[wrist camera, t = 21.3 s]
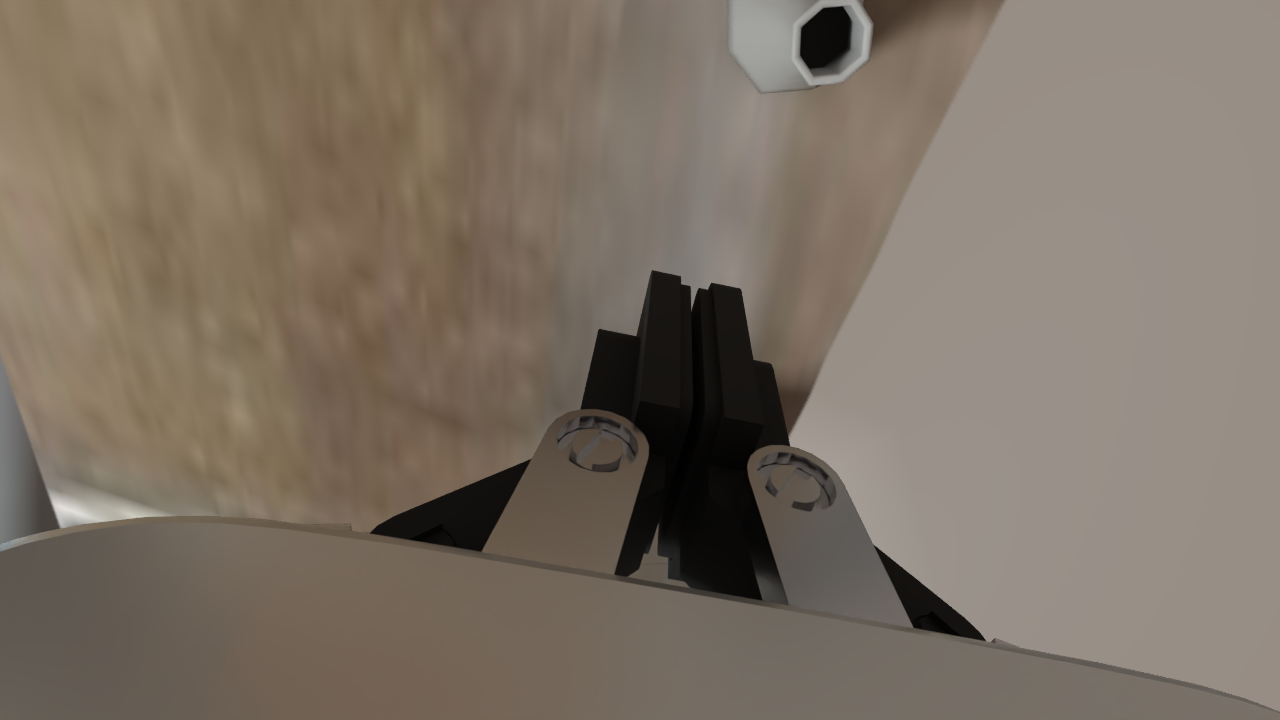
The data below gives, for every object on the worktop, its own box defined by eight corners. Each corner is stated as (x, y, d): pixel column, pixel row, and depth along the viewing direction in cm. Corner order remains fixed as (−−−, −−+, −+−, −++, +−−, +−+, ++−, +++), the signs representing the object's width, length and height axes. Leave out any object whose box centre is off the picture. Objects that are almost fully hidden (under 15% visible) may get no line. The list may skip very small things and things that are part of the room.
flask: (748, 115, 35) (768, 165, 26) (704, -23, 31) (712, -15, 23) (878, 60, 33) (944, 95, 25) (847, -94, 29) (912, -113, 21)
